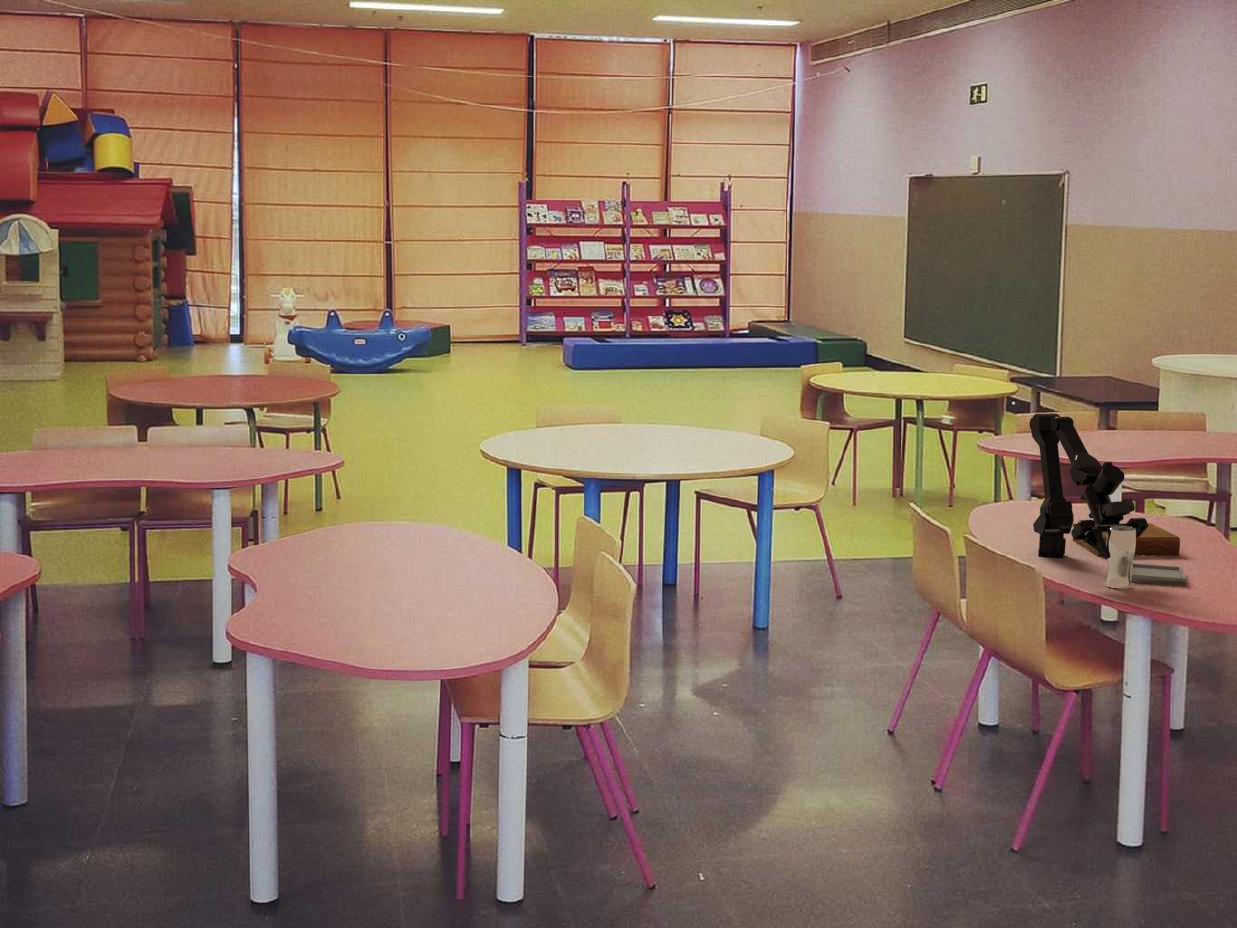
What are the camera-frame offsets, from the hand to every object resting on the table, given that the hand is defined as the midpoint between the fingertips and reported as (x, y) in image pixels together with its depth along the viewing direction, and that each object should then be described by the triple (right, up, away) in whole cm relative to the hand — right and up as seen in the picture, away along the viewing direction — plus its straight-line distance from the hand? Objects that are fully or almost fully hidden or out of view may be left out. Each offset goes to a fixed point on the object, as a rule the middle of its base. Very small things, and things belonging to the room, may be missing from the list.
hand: (1120, 557), depth 347 cm
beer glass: (0, -8, +2) cm, 8 cm away
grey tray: (+13, -6, +10) cm, 17 cm away
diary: (+17, -1, +43) cm, 46 cm away
